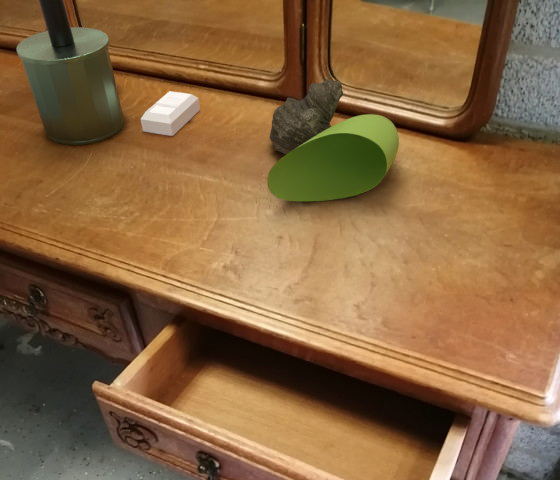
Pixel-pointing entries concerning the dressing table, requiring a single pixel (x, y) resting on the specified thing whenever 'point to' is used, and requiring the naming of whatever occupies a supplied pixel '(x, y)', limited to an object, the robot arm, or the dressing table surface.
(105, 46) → the tin lid
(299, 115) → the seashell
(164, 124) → the soap bar
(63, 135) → the tin
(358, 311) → the dressing table surface
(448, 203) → the dressing table surface
